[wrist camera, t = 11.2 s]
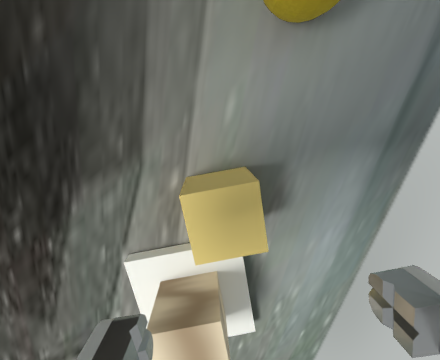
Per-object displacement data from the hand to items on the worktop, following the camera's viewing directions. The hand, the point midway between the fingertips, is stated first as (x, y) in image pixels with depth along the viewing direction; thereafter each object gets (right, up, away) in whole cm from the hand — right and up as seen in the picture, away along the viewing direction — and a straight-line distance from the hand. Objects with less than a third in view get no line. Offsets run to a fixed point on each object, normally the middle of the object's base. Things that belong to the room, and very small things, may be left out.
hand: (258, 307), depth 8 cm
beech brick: (-4, -6, +12) cm, 14 cm away
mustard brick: (-1, +3, +11) cm, 11 cm away
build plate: (-4, -6, +13) cm, 15 cm away
